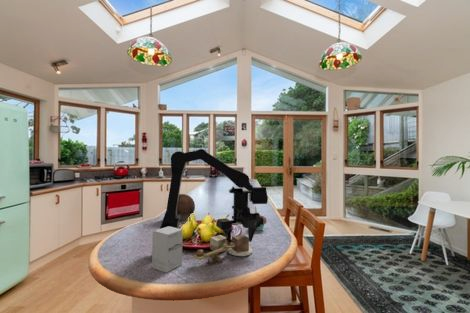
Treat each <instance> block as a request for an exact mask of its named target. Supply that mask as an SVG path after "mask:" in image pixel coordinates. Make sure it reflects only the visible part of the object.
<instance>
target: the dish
mask: <svg viewBox="0 0 470 313" xmlns="http://www.w3.org/2000/svg"><path fill="white" fill-rule="evenodd" d="M227 252H228V254H230V255H231V256H234V257H246V256H250V255H252V254H253V248H252V247H250V246H249V251H245V252H240V253H237V252H236V251H234V250H233V249H232V248H230V249H228V250H227Z"/></svg>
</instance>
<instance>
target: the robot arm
mask: <svg viewBox="0 0 470 313" xmlns="http://www.w3.org/2000/svg"><path fill="white" fill-rule="evenodd" d="M198 160H199V161H200V160H201V161H203V162H204V163H206V164H207V165H209V166H210V167H212V168H214V169H215V170H217V171H218V172H220V173H221V174H223V175H225V176H226V177H227V178H228V179H229V180H230V181H231V182H232V183H233V184H234V185H236V186H237V187H238V188H236V187H235V186H233V185H232V186H231V188H230V189H229V190H228V193H229V194H233V205H231V209H232V211H233V213H232V214H233V215H232V216H231V220H230V219H228V218H227V217H226V218H224V217H223V218H218V219H217V220H216V222H215V225H216V227H217V228H218V229H220V230H222V232H223V234H224V237H226V239H227V242H232V233H233V232H232V231H233V229H232V228H233V226H236V225H237V226H238V225H242V227H243V228H244V229H247V232H248V234H247V235H248V236H247V237H248V238H249V243H251V242H252V240H253V238H254V236H255V233H256V231H257V230H256V229H257V228H258V227H260V226H261V225H263V224H264V219H263V217H261V216H262V215H261V214H260V213H259V212H257V213H255V212H253V213H252V212H251V207H249V202H251V204H252V205H267V204H268V200H269V196H268V192H267V187H266V186H257V187H256V186H254V185H252V184H251V183H250V177H249V175H248V174H247V173H245V172H243V171H241V170H239V169H236V168H233V167H231V166H228V165H227V164H226V163H224V162H223V161H221V160H220V159H218V158H216V157H215V156H213V155H212V154H210V153H208V152H207V151H206V150H205V149H202V148H200V149H197V150H192V151H187V152H184V151H175V152H173V153H172V154H171V156H170V170H171V176H170V177H171V179H170V183H169V184H170V186H169V191H168V196H167V198H168V199H167V204H166V205H167V206H166V210H165V214H164V216H163V218H162V221H161V224H160V226H159V229H161V228H165V227H168V226H170V227H174V228H179V227H180V220H179V219H180V216H181V215H177V206H178V199H179V194H181V192H180V191H181V185H182V178H183V176H184V172H185V169H186V166H187V164H188V163H190V162H193V161H198ZM243 188H244V189H246V190H244V189H243ZM260 215H261V216H260ZM264 225H265V224H264Z"/></svg>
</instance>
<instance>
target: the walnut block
mask: <svg viewBox="0 0 470 313" xmlns="http://www.w3.org/2000/svg"><path fill="white" fill-rule="evenodd" d="M231 242H232V243H235V247H233V248H232V249H233V250H234V251H236V252H237V253H240V252H245V251H249V247H250V242H249V237H248V236H246V235H245V234H243V233H242V234H237V235H231Z"/></svg>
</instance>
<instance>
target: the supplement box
mask: <svg viewBox="0 0 470 313" xmlns="http://www.w3.org/2000/svg"><path fill="white" fill-rule="evenodd" d="M183 232H184V231H183V228H179V227H178V228H174V227H170V226H168V227H165V228H161V229H160V228H158V229H155V230H152V237H151V238H152V239H151V240H152V244H151V247H152V248H151V250H152V251H151V268H152V269H155V270H156V271H157V270H158V271H160V272H163V273H168V272H170V271H172V270H175V269H176V268H178V267H181V266H182V265H183Z"/></svg>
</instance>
